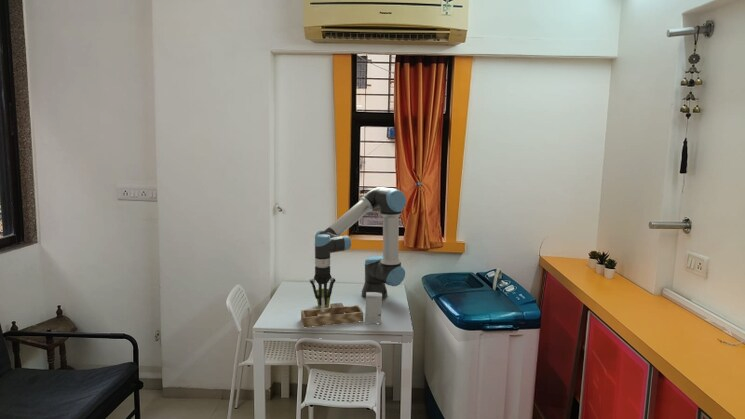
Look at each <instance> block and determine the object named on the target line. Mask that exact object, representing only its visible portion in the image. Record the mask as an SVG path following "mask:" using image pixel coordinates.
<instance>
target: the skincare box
mask: <svg viewBox="0 0 745 419" xmlns="http://www.w3.org/2000/svg"><path fill="white" fill-rule="evenodd" d="M382 303H383V299H382V293H376V292H366V298H365V311H364V312H365V313H364V324H365V323H379V324H378V325H381V323H382V321H381V320H382V306H383V304H382Z"/></svg>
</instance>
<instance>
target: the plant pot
mask: <svg viewBox="0 0 745 419" xmlns="http://www.w3.org/2000/svg"><path fill="white" fill-rule="evenodd" d="M328 289H329V288H327V294H328ZM316 291H317V295H318V296H319V288H317V289H316ZM332 293H333V291H332V292H331V294H332ZM322 298H324V288H322ZM330 301H331V297H330V298H327V304H326V305H325V308H330V304H331V302H330ZM316 302H317V307H318V309H321V305H319V299H316Z"/></svg>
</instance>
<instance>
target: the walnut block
mask: <svg viewBox="0 0 745 419" xmlns="http://www.w3.org/2000/svg"><path fill="white" fill-rule="evenodd" d="M329 308H330V313H331V315H334V314H344V304H343V302H336V303H329Z"/></svg>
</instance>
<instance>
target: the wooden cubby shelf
mask: <svg viewBox="0 0 745 419" xmlns="http://www.w3.org/2000/svg"><path fill="white" fill-rule="evenodd" d="M343 306H344V305H343ZM300 317H301V324H302V323H303V324H302V327H303V326H304V327H307V328H313V327H312V326H317V327H325V325H327V326H334V325H333V324H337V325H343V324H342V323H347V324H352V323H351V322H357V323H360V322H359V321H363V322H364V311H363V310H362V308H361V307H360V305H359V304H357V305H347V306H346V305H345V306H344V314H334V315H331V313H330V307H327V308H325V312H321V308H314V309H313V308H311V309H304V310H301V309H300ZM323 325H324V326H323ZM304 327H303V328H304Z"/></svg>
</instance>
